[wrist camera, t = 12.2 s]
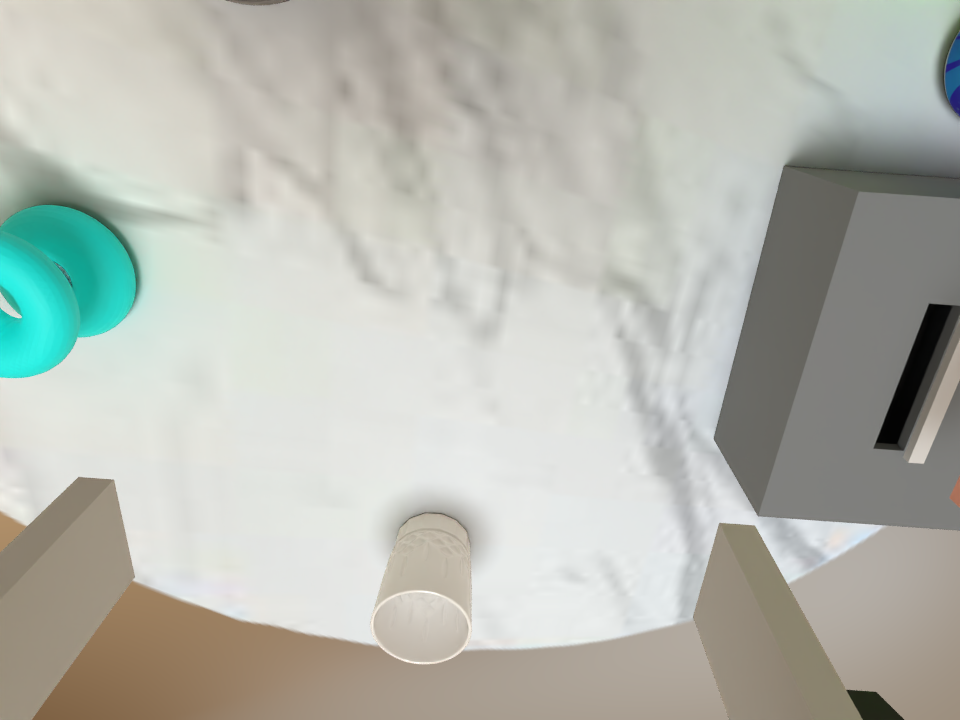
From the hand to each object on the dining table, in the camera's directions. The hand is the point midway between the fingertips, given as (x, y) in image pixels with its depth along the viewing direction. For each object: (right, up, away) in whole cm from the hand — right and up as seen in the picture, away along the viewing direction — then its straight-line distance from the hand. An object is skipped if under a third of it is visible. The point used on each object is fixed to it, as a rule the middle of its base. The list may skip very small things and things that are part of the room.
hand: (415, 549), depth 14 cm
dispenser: (+29, +7, +34) cm, 45 cm away
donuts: (-29, +11, +34) cm, 46 cm away
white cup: (-3, -12, +44) cm, 46 cm away
